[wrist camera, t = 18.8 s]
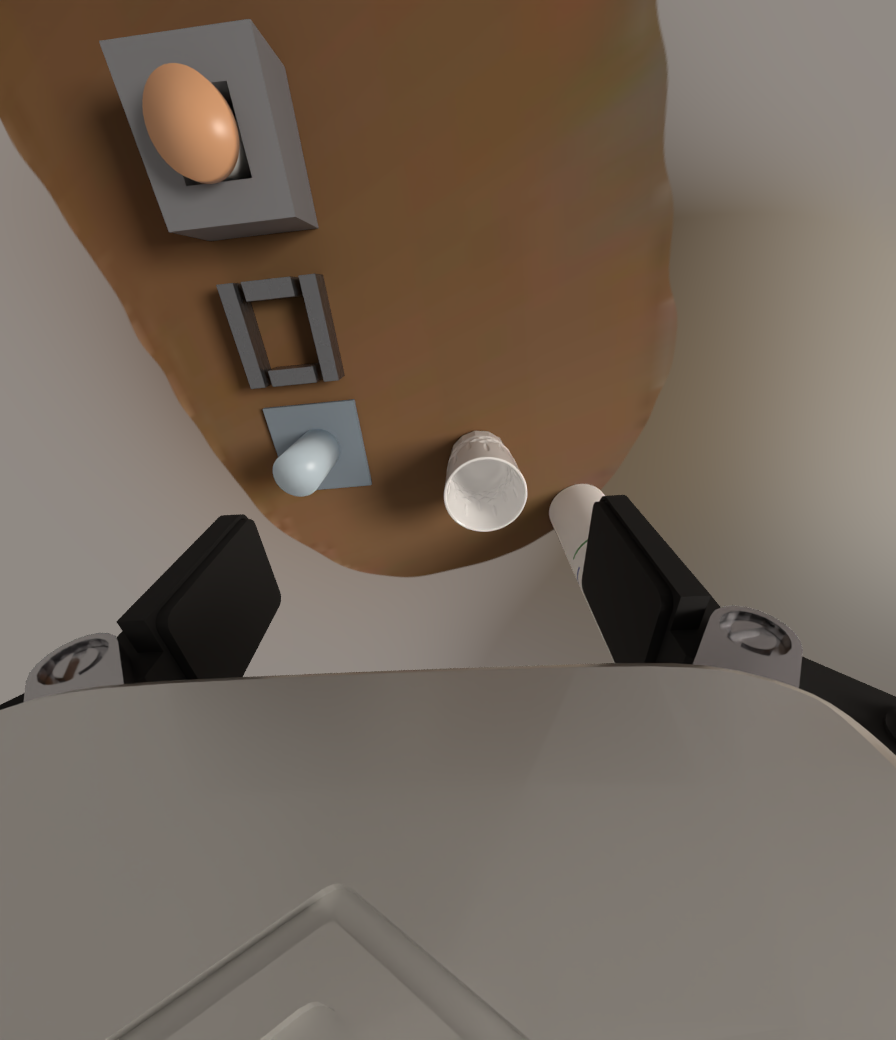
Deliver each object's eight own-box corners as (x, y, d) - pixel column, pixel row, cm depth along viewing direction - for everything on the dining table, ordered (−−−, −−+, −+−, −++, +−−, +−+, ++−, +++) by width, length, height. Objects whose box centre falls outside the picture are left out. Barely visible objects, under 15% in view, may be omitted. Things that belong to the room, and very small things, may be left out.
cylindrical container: (548, 536, 51) (621, 714, 29) (549, 486, 47) (634, 647, 26) (603, 531, 51) (718, 709, 29) (609, 481, 47) (746, 640, 25)
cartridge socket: (229, 285, 37) (216, 285, 35) (323, 275, 37) (314, 273, 34) (261, 383, 42) (251, 388, 39) (344, 375, 41) (338, 380, 39)
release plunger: (186, 111, 30) (125, 69, 24) (257, 101, 30) (212, 56, 24) (215, 203, 33) (166, 185, 27) (280, 195, 32) (244, 175, 27)
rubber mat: (264, 408, 43) (262, 409, 42) (354, 399, 42) (353, 400, 42) (291, 490, 48) (289, 492, 47) (371, 483, 47) (371, 485, 47)
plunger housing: (158, 84, 30) (98, 41, 25) (284, 66, 30) (250, 18, 25) (210, 241, 35) (168, 232, 30) (318, 228, 35) (295, 216, 30)
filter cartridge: (296, 429, 43) (267, 453, 36) (336, 427, 43) (314, 451, 36) (305, 467, 46) (279, 497, 39) (343, 465, 46) (324, 495, 39)
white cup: (499, 495, 48) (510, 539, 39) (437, 479, 47) (434, 521, 38) (522, 435, 44) (540, 469, 36) (455, 416, 43) (457, 447, 35)
